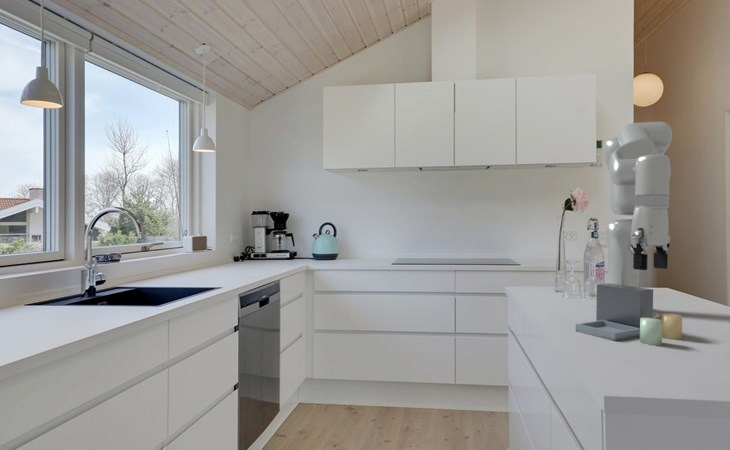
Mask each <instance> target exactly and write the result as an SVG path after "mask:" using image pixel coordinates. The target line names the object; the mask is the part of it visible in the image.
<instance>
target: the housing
mask: <svg viewBox="0 0 730 450" xmlns="http://www.w3.org/2000/svg"><path fill="white" fill-rule="evenodd" d="M653 310H654V289H651V288H646V287H632V286H625V285H618V284H611V283H608V282H607V283H599V284H598V283H597V284H596V313H595V314H596V316H595V317H596V320H595V321H599V320H604V321H609V322H614V323H618V324H623V325H627V326H632V327H636V328H640V318H653Z"/></svg>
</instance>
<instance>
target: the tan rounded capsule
mask: <svg viewBox="0 0 730 450" xmlns="http://www.w3.org/2000/svg"><path fill="white" fill-rule="evenodd" d="M660 314H661V320H662V339H663V338H664V339H669V340H677V341H678V340H679V341H680V340H682V339H683V315H682V314H678V313H677V314H676V313H667V312H666V313H665V312H664V313H660Z"/></svg>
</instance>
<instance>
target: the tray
mask: <svg viewBox="0 0 730 450" xmlns="http://www.w3.org/2000/svg"><path fill="white" fill-rule="evenodd" d="M575 332H578V333H582V334H586V335H590V336H595V337H598V338H602V339H606V340H609V341H614V342H616V341H621V340H627V339H633V338H640V328H636V327H632V326H627V325H623V324H618V323H614V322H609V321H604V320H599V321H596V320H592V321H588V322H580V323H575Z"/></svg>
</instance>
